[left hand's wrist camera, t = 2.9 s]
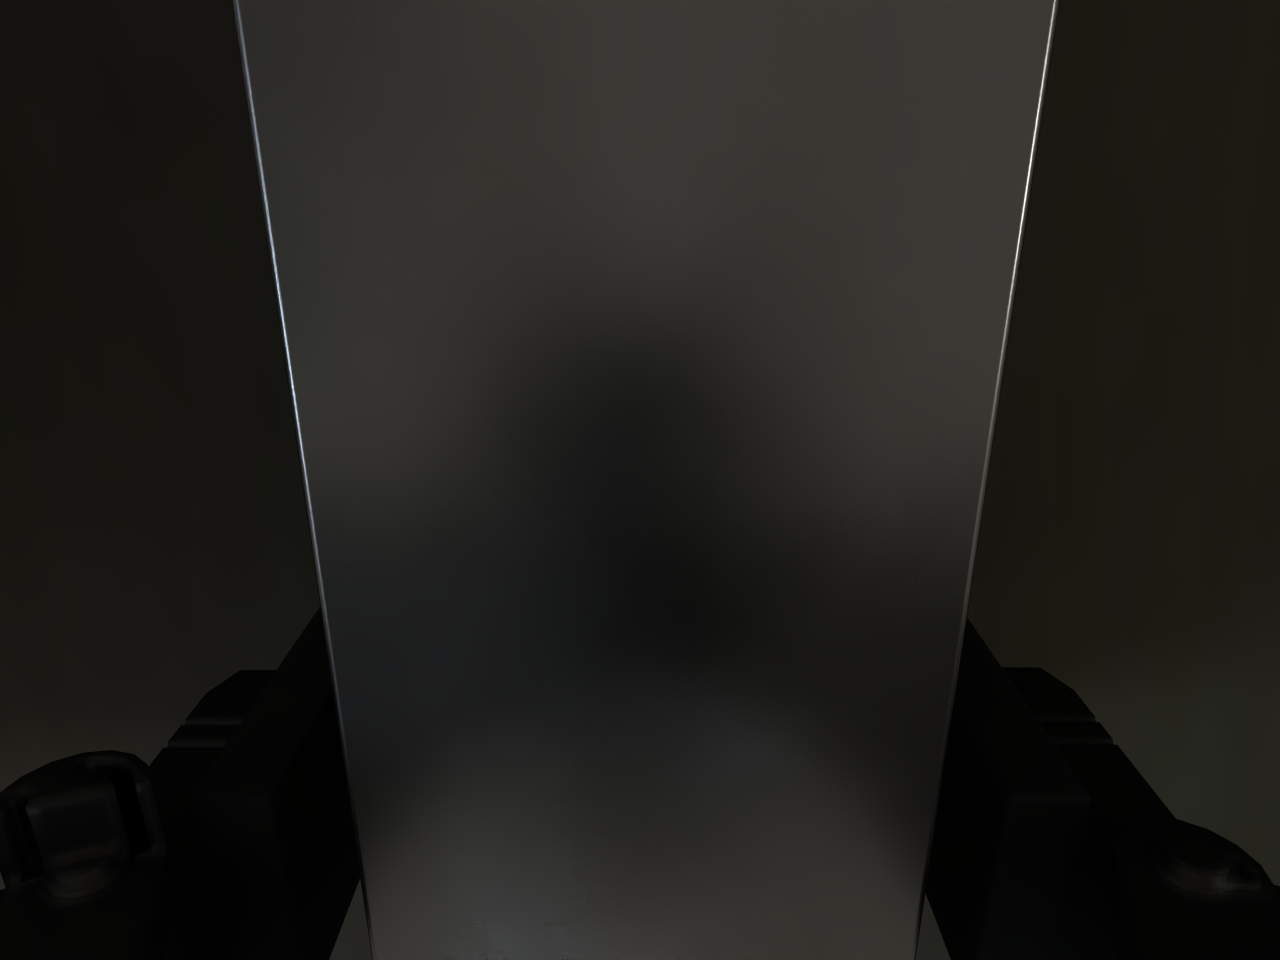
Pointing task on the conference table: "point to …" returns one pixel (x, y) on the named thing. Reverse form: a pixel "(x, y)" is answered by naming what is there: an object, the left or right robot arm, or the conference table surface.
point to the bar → (644, 446)
